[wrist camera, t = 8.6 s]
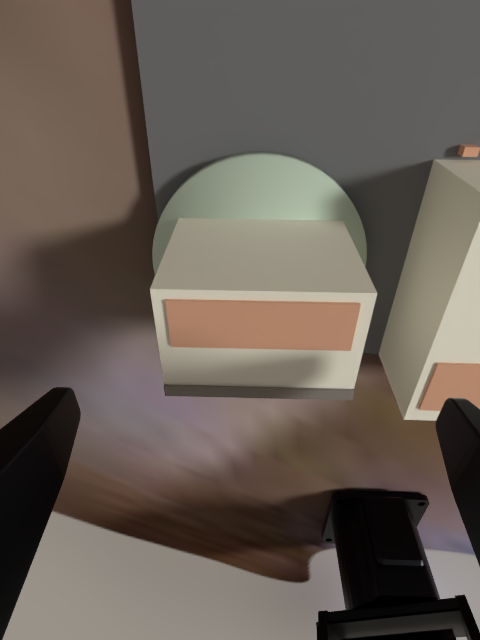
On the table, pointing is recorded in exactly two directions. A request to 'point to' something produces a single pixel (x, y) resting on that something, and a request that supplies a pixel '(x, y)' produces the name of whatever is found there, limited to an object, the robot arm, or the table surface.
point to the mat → (317, 100)
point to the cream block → (261, 309)
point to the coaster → (259, 196)
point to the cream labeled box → (438, 298)
